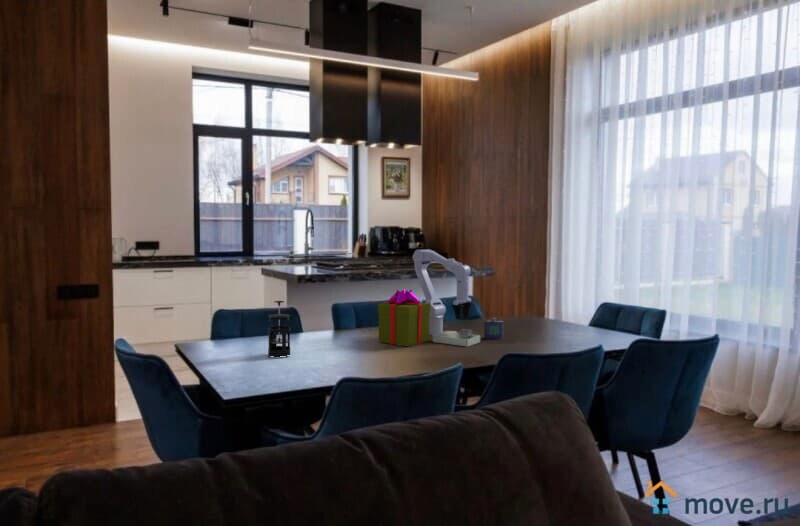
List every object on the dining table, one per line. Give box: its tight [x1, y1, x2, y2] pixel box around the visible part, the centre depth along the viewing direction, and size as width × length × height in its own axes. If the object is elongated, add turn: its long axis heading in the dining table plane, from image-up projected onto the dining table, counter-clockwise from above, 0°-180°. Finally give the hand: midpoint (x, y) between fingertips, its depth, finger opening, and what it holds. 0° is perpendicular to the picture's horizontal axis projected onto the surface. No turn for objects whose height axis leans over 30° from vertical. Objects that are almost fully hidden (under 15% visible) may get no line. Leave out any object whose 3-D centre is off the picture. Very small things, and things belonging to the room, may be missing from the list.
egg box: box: [439, 330, 458, 338], centre depth 272 cm, size 5×8×4 cm, turn 146°
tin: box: [458, 328, 473, 339], centre depth 267 cm, size 5×5×6 cm
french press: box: [267, 300, 291, 357], centre depth 239 cm, size 12×9×23 cm
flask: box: [483, 317, 504, 340], centre depth 280 cm, size 9×3×11 cm, turn 88°
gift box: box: [377, 288, 430, 347], centre depth 270 cm, size 21×21×25 cm
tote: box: [432, 332, 482, 347], centre depth 270 cm, size 18×13×4 cm
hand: (462, 318), depth 278 cm, fingers open, 7 cm apart
